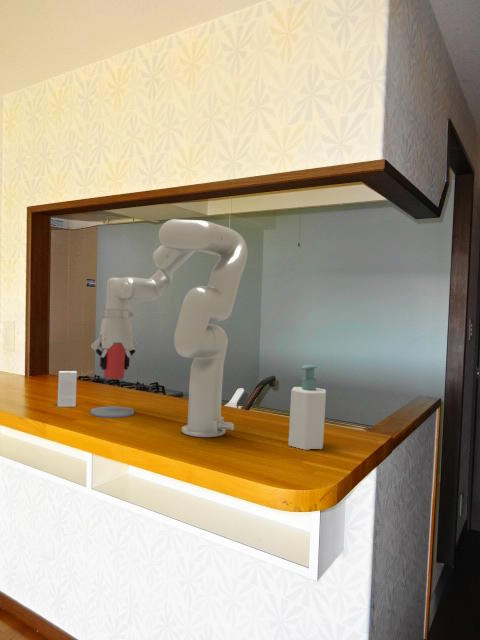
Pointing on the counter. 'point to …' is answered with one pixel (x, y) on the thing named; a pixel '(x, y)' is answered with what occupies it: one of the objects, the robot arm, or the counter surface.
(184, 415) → the counter surface
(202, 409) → the robot arm
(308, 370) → the soap bottle
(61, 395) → the skincare box
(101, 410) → the slate mat
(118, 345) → the beer can
